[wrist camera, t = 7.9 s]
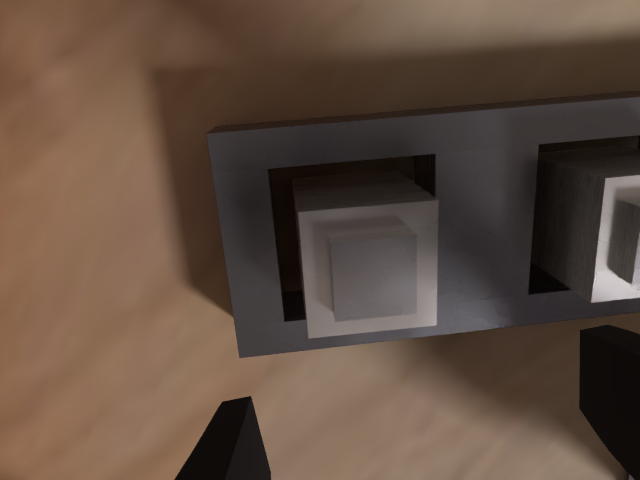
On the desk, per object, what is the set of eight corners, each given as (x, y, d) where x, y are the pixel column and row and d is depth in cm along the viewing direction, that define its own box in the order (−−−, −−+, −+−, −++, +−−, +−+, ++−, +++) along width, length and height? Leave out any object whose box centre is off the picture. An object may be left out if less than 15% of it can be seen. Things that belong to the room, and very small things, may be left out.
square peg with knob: (618, 145, 19) (754, 169, 13) (607, 240, 20) (726, 297, 15) (520, 154, 18) (620, 182, 13) (515, 250, 20) (603, 311, 14)
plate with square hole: (689, 86, 18) (751, 87, 16) (657, 278, 21) (707, 304, 18) (215, 126, 17) (206, 133, 15) (243, 324, 20) (239, 357, 17)
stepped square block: (395, 169, 18) (445, 205, 13) (397, 266, 20) (443, 335, 14) (291, 178, 18) (299, 217, 13) (299, 275, 19) (309, 349, 14)
